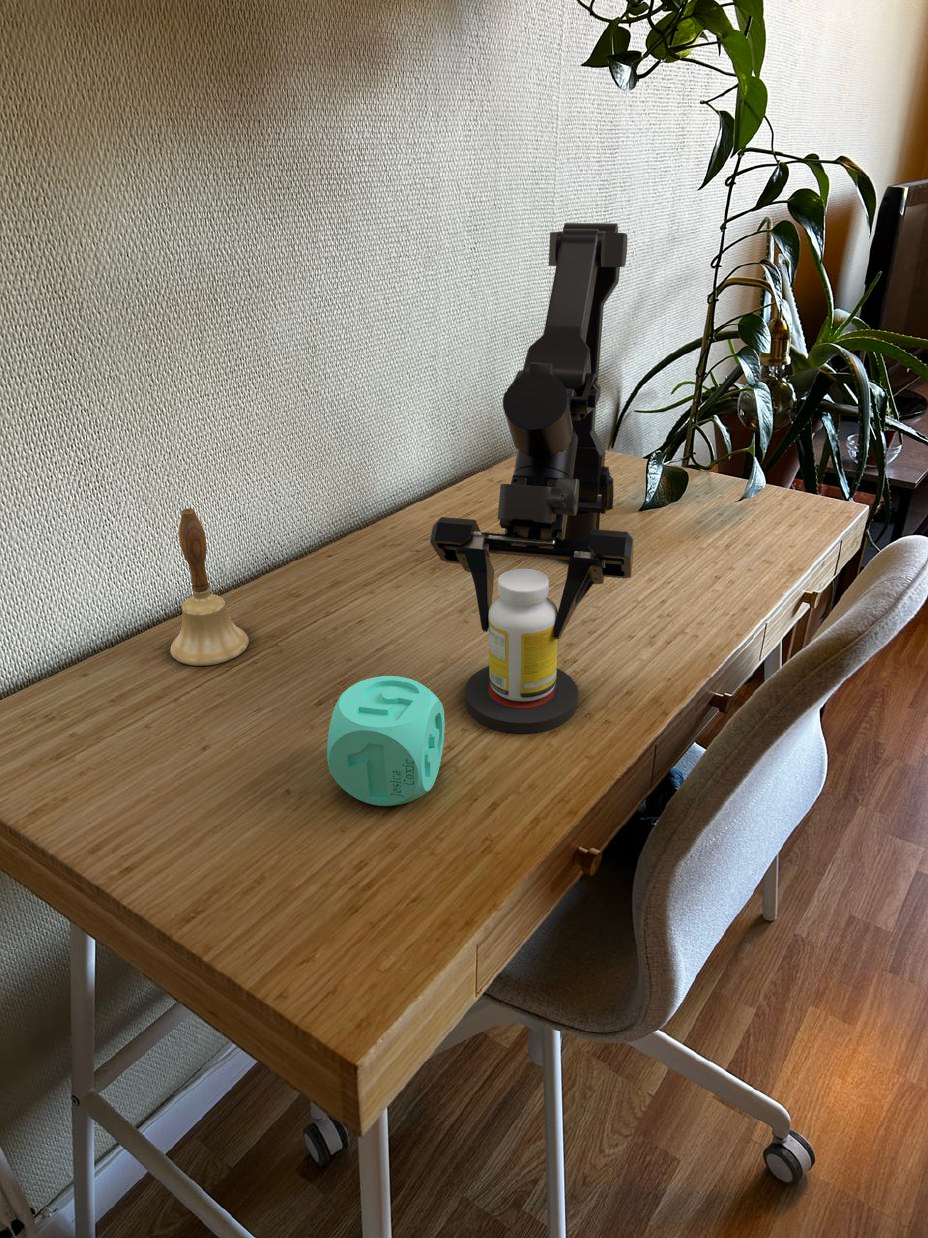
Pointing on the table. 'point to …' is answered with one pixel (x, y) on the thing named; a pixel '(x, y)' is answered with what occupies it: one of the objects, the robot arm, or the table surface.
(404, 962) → the table surface
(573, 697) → the disc
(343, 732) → the decorative dice
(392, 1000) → the table surface
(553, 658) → the pill bottle
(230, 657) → the hand bell
